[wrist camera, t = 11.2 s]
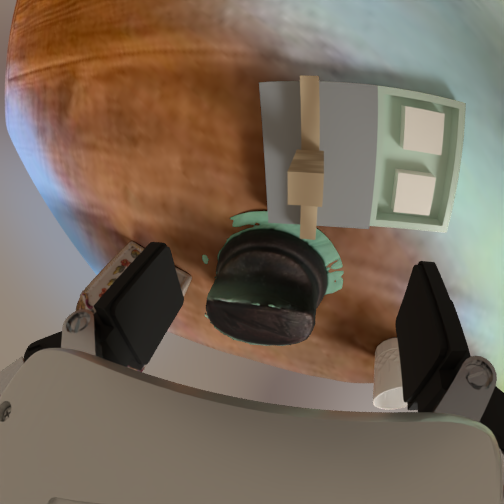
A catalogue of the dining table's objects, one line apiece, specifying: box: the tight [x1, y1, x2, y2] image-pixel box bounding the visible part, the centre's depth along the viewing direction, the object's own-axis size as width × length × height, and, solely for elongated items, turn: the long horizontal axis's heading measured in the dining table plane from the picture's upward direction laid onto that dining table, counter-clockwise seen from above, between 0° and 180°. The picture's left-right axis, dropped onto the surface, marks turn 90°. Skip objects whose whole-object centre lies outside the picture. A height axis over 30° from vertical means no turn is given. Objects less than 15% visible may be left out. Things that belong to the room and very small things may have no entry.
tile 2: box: [391, 169, 436, 216], centre depth 26 cm, size 4×4×2 cm
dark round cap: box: [202, 211, 343, 346], centre depth 35 cm, size 20×20×9 cm
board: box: [259, 81, 378, 229], centre depth 26 cm, size 11×15×3 cm
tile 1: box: [400, 105, 445, 155], centre depth 22 cm, size 4×4×2 cm
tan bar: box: [288, 76, 324, 240], centre depth 22 cm, size 2×16×9 cm, turn 3°
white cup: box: [373, 338, 408, 410], centre depth 37 cm, size 8×8×10 cm
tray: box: [369, 86, 466, 233], centre depth 24 cm, size 10×15×2 cm, turn 4°
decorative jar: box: [76, 241, 192, 372], centre depth 38 cm, size 12×12×18 cm
